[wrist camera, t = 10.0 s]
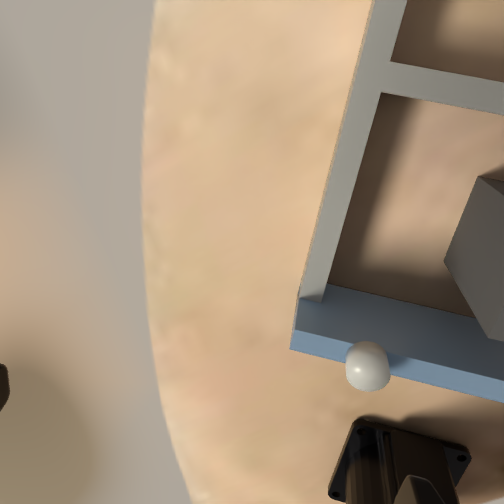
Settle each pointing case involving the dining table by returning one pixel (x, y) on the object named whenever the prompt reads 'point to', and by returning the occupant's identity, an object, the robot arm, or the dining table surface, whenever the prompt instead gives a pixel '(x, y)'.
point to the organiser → (330, 226)
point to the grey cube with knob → (481, 255)
